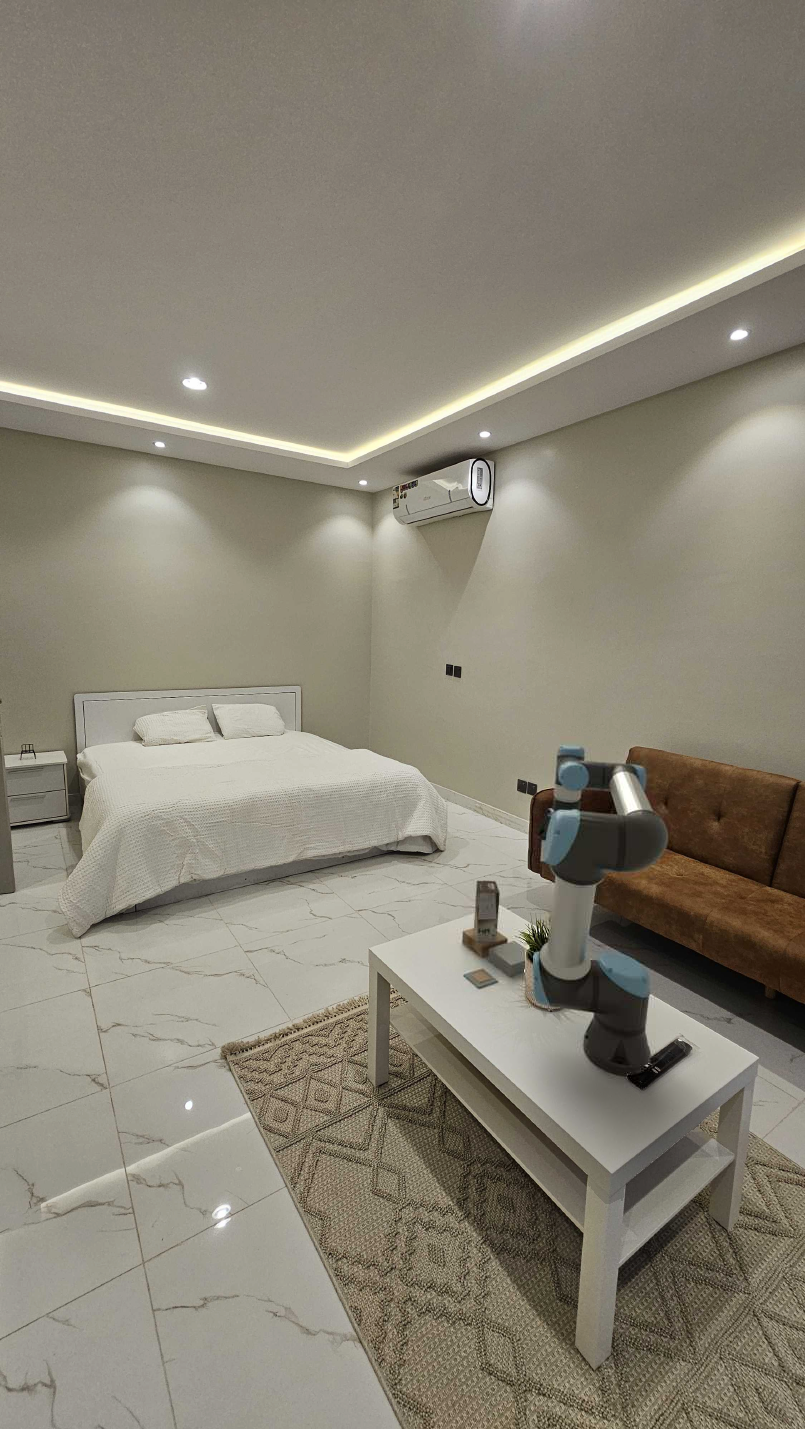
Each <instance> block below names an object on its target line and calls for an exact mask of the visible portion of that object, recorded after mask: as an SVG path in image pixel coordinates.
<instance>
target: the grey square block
mask: <svg viewBox="0 0 805 1429" xmlns="http://www.w3.org/2000/svg"><path fill="white" fill-rule="evenodd" d="M526 949H527V948H525V947H524V946H522V945H521V944H520V943H519V942H517V941H516V940H513V941H508V942H507V943H506V944H502V945H499V946H496V947H492V948H489V956H488V957H487V958H488V959H487V960H488V962H489V963H490V964H492V965H493V966H494V967H496V968H497V969H498V970H500V971H501V973H503V974H505V975H506V976H507V977H508V978H510V979H511V978H513V977H517V976H520V975H522V974H525V973H524V969H525V950H526Z"/></svg>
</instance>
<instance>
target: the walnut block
mask: <svg viewBox="0 0 805 1429" xmlns="http://www.w3.org/2000/svg"><path fill="white" fill-rule="evenodd" d="M461 939H462V940H461V943H462V945H464V946H465V947H466V948H468V949H469V950H470V951H472V952H473V953H474V954H475V955H477V956H478V957H479V958H481V959H483V958H484V959H485V958H486V957H487V958H489V948H492V947H496V946H499V945H502V944H506V943H509V941H508V937H506V936H504V935H503V934H502V933H500V932H499V931H498V930H497V938H496V942H481V941H476V936H475V931H474V927H473V928H470V929H466V930H463V931H462V937H461Z"/></svg>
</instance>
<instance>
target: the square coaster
mask: <svg viewBox="0 0 805 1429" xmlns="http://www.w3.org/2000/svg"><path fill="white" fill-rule="evenodd" d="M463 977H464V978H465V979H466V980H468V981H469V982H470V983H472V985H474V986H475V987H476V988H477V989H481V988H484V987H487V986H490V985H493V984H496V983H498V982H499V980H498V979H497V978H495V977H494V976H493V975H492V974H490V973H489V972H488V971H487V970H485V968H480V969H476V970H473V971H469V972H467V973H464V974H463Z"/></svg>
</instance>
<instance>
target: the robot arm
mask: <svg viewBox="0 0 805 1429" xmlns="http://www.w3.org/2000/svg"><path fill="white" fill-rule="evenodd" d="M585 750H586V749H585V748H584V747H582V746H580V745H575V744H561V745H559V746H558V748H557V753H556V765H555V766H556V767H555V781H554V790H553V791H554V792H553V796H554V798H553V800H552V801H553V802H552V807H551V808H546V809H545V812H544V815H543V818H542V820H541V822H540V824H539V826H538V827H537V829H536V832H535V834H536V836H538V837H539V839H540V842H539V843H540V844H539V848H540V859H539V860H540V862H545V863H546V864H548V865H549V867H550V870H551V872H552V874H553V875H554V876H555V879H554V888H553V896H552V897H553V898H552V906H551V915H550V921H549V922H550V923H549V932H548V938H547V939H548V940H547V942H546V943H544V944H543V946H542V947H541V949H540V950H539V951H535V952H534V953H533V954H534V955H533V970H532V975H533V992H534V994H533V995H534V999H535V1001H536V1002H537V1003H538V1004H540V1005H543V1006H547V1007H548V1006H549V1007H551V1008H559V1009H565V1010H573V1011H579V1012H587V1013H591V1014H592V1013H593V1016H592V1018H591V1020H590V1022H589V1024H588V1026H587V1028H586V1029H585V1030H586V1031H585V1032H584V1036H583V1041H582V1044H583V1045H582V1047H583V1052H584V1053H585V1055H586V1056H587V1057H588V1059H589V1060H590V1061H591V1062H592V1063H593V1064H595V1066H598V1068H601V1069H602V1070H604V1071H606V1072H608V1073H611V1074H614V1075H617V1076H623V1075H624V1076H623V1077H627V1076H626V1075H627V1074H629V1073H630V1072H633V1071H635V1070H638V1069H640V1068H641V1067H643V1066H644V1065H646V1064H648V1063H649V1062H650V1063H651V1056H652V1055H651V1050H650V1049H651V1048H650V1046H649V1042H648V1037H647V1033H646V1025H647V1020H648V1019H647V1017H648V1009H649V999H650V996H651V975H650V974H649V972H648V970H647V968H646V967H645V966H644V965H643V964H642V963H640V962H639V961H637V960H636V959H634V958H633V957H630V956H628V955H626V954H623V953H620V952H613V951H607V952H604V953H601V954H600V956H599V957H598V960H597V959H591V958H590V955H589V953H588V952H587V949H588V948H587V947H588V940H589V934H590V928H591V920H592V915H593V909H594V901H595V895H596V889H597V885H599V884H600V883H602V882H603V880H604V879H605V877H606V874H607V872H615V873H616V872H617V873H623V874H624V873H625V874H627V873H628V874H630V873H637V872H641V871H644V870H646V869H648V868H651V866H652V865H654V864H655V863H657V861H659V860H660V858H661V857H662V856H663V855H664V853H665V851H666V848H667V846H668V842H669V833H668V829H667V827H666V824H665V822H664V820H663V818H662V817H661V816H660V815H659V814H658V813H657V812H656V811H654V810H653V808H652V806H651V803H650V802H649V799H648V797H647V795H646V793H645V790H646V785H647V773H646V772H647V771H646V769H645V767H644V766H642V765H638V764H633V763H618V762H617V763H615V762H603V761H602V762H601V761H591V760H585V759H586V756H585ZM582 790H593V791H594V790H595V791H603V792H610V793H611V796H612V800H613V803H614V806H615V810H616V813H617V814H616V813H615V814H614V813H613V814H612V813H601V812H593V811H591V812H590V811H582V810H581V809H580V808H581V801H580V799H581V798H582ZM580 810H581V811H580Z"/></svg>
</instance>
